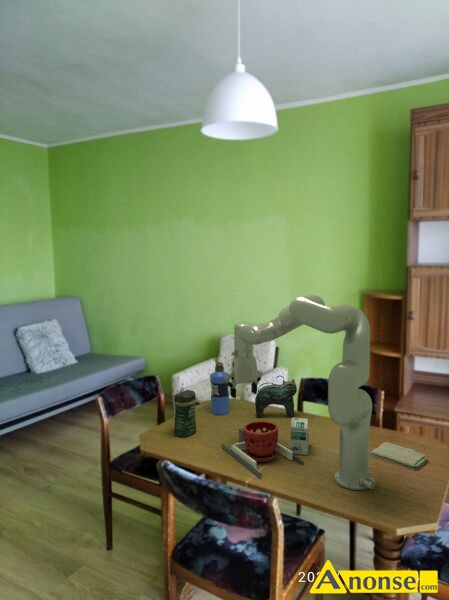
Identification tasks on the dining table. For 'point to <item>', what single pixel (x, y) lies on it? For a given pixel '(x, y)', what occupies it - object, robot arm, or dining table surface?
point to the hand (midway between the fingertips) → (243, 395)
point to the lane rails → (251, 466)
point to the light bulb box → (299, 436)
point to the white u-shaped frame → (238, 451)
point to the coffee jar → (185, 413)
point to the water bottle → (219, 391)
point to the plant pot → (261, 440)
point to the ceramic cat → (276, 397)
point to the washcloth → (399, 455)
